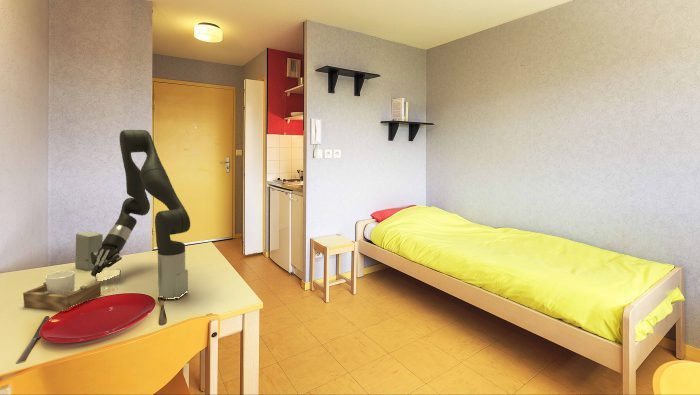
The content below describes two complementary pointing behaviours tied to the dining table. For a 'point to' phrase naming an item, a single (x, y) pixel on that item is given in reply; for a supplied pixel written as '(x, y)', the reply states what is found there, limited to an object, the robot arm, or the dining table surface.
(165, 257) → the robot arm
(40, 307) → the wooden tray
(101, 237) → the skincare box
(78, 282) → the dining table surface
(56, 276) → the white cup
